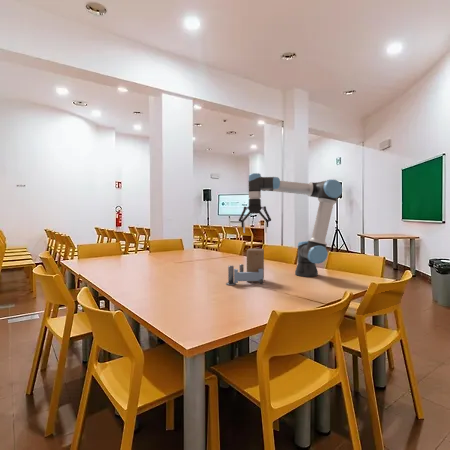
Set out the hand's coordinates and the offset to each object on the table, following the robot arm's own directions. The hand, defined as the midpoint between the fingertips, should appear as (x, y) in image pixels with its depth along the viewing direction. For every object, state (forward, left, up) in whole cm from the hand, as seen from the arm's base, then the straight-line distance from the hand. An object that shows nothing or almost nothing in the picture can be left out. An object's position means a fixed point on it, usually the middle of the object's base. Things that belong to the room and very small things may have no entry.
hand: (254, 232), depth 194 cm
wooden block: (0, 0, -31) cm, 31 cm away
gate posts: (+12, 0, -30) cm, 33 cm away
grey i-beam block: (+5, +9, -30) cm, 31 cm away
